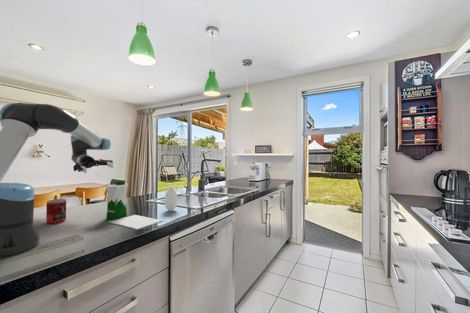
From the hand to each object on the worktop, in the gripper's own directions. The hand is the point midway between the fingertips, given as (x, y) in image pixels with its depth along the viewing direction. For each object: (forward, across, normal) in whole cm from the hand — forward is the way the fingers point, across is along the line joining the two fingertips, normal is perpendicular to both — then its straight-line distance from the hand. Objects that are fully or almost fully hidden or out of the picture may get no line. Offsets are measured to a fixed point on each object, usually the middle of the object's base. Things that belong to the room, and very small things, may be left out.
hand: (99, 168), depth 119 cm
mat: (+31, -4, -23) cm, 39 cm away
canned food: (0, +22, -24) cm, 33 cm away
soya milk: (+15, -1, -26) cm, 30 cm away
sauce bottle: (+25, -29, -29) cm, 48 cm away
